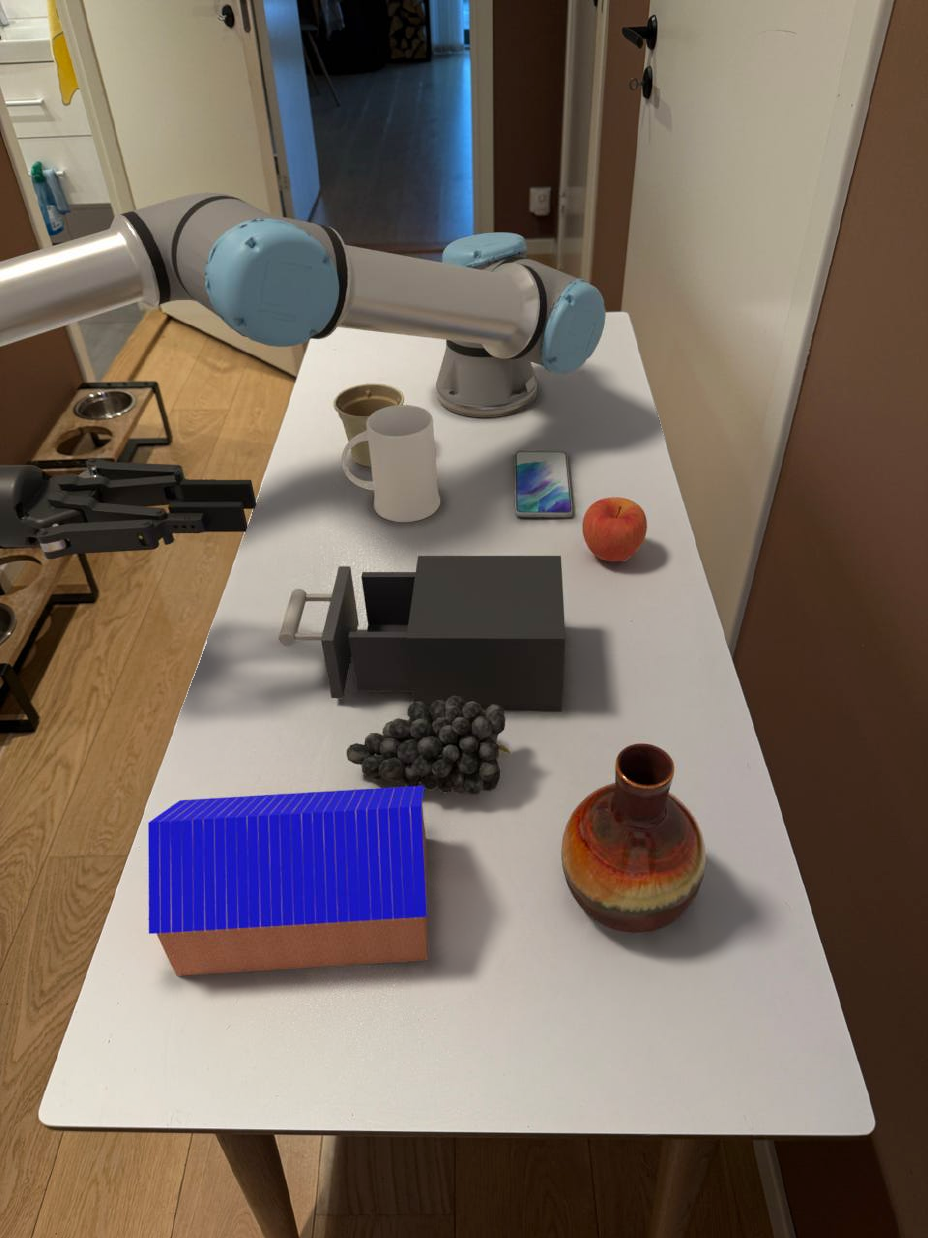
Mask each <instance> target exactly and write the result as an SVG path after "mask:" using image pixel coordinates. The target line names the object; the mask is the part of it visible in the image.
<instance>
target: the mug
mask: <svg viewBox="0 0 928 1238" xmlns="http://www.w3.org/2000/svg"><path fill="white" fill-rule="evenodd" d="M366 425H367V430H366V431H365V432H362V433H360V434H358V435H356V436H355V437H353V438H352V439H351V440H350V441H349V442H348V441H347V443H346V445H345V446H344V449H343V451H342V455H341V465H342V469H343V472H344V474H345V476H346V477H347V478H348V479H349V480H350V481H351V482H352V483H353V484H355V485H356V486H358V487H360V488H363V489H366V490H370V491H373V492H374V501H373V508H374V511H375V512H376V513H377V514H378V515H379V516H380V517H381V518H383V519H385V520H387V521H391V522H395V523H413V522H418V521H422V520H424V519H427V518H428V517H430V516H433V514H435V513H436V512H437V510H438V509H439V508H440V505H441V496H440V493H439V489H438V477H437V476H438V473H437V459H436V443H435V431H434V417H433V414H431V412H429V410H427V409H425V408H423V407H420V406H416V405H410V404H409V405H408V404H403V405H396V406H390V407H386V408H383V409H380V410H378V411H376V412H374V413H373V414H372V415H370V416H369V418H368V419H367V423H366ZM362 441H368V443H369V451H370V459H371V467H370V468H371V477H372V480H363V479H360V478H358V477H356V476H354V475H353V474H352V473H351V472H350V470H349V468H348V466H347V456H348V454H349V452H350V451H351V448H352V447H353V446H354V445H355V444H357V443H359V442H362Z"/></svg>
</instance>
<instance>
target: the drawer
mask: <svg viewBox="0 0 928 1238" xmlns="http://www.w3.org/2000/svg"><path fill="white" fill-rule="evenodd" d="M415 573H416V571H362V572H361V576H360V577H361V584H362V592H363V598H364V599H363V600H364V606H365V613H366V620H367V627H366V631H358V628H359V616H358V610H357V602H356V595H355V588H354V583H353V576H352V570H351V566H350V565H339V566H338V569H337V573H336V577H335V581H334V585H333V589H332V593H307V592H306V590H304V589H302V588H295V589H293V590H292V591H291V594H290V598H289V601H288V604H287V608H286V611H285V615H284V617H283V621H282V623H281V624H282V625H281V627H280V631H279V634H278V642H279V643H280V644H281V645H283V646H286V647H287V646H288V647H290V646H292V645H294V644H295V642H299V641H300V642H302V641H303V642H320V643H321V649H322V655H323V659H324V660H323V661H324V666H325V670H326V676H327V680H328V686H329V691H330V692H329V693H330V697H331V699H344V697H345V691H346V687H347V683H348V682H347V681H348V677H349V671H350V667H351V662H352V668H353V674H354V681H355V687H356V691H357V692H394V693H396V692H397V693H398V692H399V693H400V692H402V693H403V692H404V693H405V692H407V693H408V692H409V693H410V692H411V693H412V688H411V678H410V669H409V659H408V649H407V639H406V637H407V630H408V623H409V616H410V609H411V602H412V594H413V587H414V580H415ZM306 602H329V605H328V608H327V609H328V611H327V614H326V617H325V621H324V626H323V630H322V632H300V631H299V627H300V624H301V620H302V616H303V612H304V610H305V605H306ZM298 631H299V632H298Z"/></svg>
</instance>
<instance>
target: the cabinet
mask: <svg viewBox="0 0 928 1238" xmlns="http://www.w3.org/2000/svg"><path fill="white" fill-rule="evenodd" d="M416 559H417V561H416V567H415V572H416V573H415V580H414V587H413V594H412V602H411V609H410V616H409V623H408V630H407V637H406V639H407V649H408V659H409V669H410V678H411V688H412V692H411V697H412V703H413V702H423V703H424V704H425V705H426V706H427V708H428V710H429V708H430V705H431V703H433V702H434V701H436V700H441V701H444V702H446V701H447V700H448V698H450V697H452V696H459V697H462V698H463V699H464V700H465V702H466V703H467V702H471V701H474V702H476V703H478V704H480V706H481V708H482V709H483V710H484V711H485V710H486V709H487V708H488V707H489V706H490V705H491V704H496V705H499V706H501V707H502V708H503V710H504V712H505V711H506V712H507V711H511V712H513V711H514V712H562V711H563V695H564V677H565V676H564V675H565V673H564V672H565V655H566V623H565V605H564V604H565V603H564V586H563V569H562V567H563V565H562V556H561V555H417V558H416Z"/></svg>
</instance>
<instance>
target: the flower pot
mask: <svg viewBox="0 0 928 1238" xmlns="http://www.w3.org/2000/svg"><path fill="white" fill-rule="evenodd" d="M404 403H405V395H404V393H403V392H402V390H401V389H399V388H397V387H395V386H392V385H389V384H384V383H375V382H374V383H370V382H369V383H362V384H357V385H352V386H349V387H348V388H345V389H343V390H342V391H340V392H339V393H338V394H337V395H335V397H334V399H333V408H334V411H336V413H337V414H338V417H339V418H340V420H341V422H342V425H343V428H344V432H345V435H346V438H347V443H348V442H349V441H350V440H351V439H352V438H353V437H355V436H356V435H358V434H360V433H362V432H365V431H366V430H367V425H366V423H367V419H368V418H369V416H370V415H372V414H373V413H374V412H376V411H378V410H380V409H383V408H386V407H390V406H396V405H404ZM350 452H351V457H352V458H353V460H354V462H355V463H356V464H358V465H361V466H364V467H370V468H371V459H370V451H369V443H368V441H362V442H359V443H357V444H355V445H354V446H353V447H352V448H351V449H350Z"/></svg>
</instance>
